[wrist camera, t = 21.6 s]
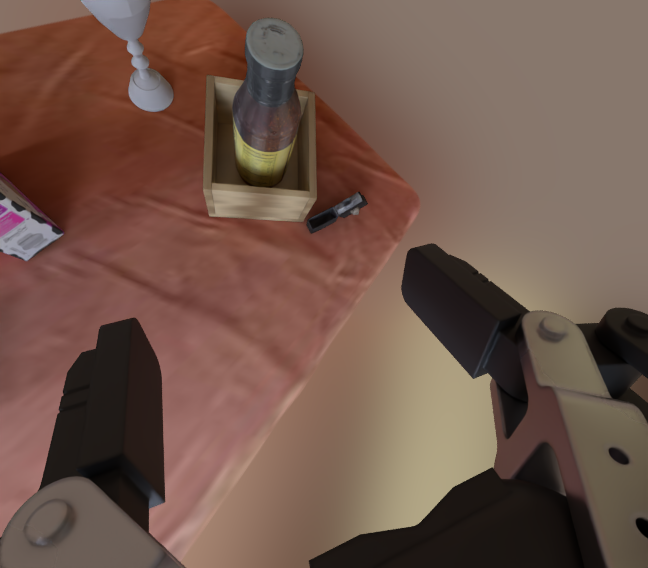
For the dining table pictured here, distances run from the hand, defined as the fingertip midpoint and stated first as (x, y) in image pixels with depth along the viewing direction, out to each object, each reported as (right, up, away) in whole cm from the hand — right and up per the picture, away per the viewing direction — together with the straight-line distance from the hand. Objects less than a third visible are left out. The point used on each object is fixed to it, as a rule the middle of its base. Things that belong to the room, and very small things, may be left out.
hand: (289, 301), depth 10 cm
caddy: (-7, +15, +33) cm, 37 cm away
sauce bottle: (-7, +15, +32) cm, 36 cm away
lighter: (+2, +9, +35) cm, 36 cm away
